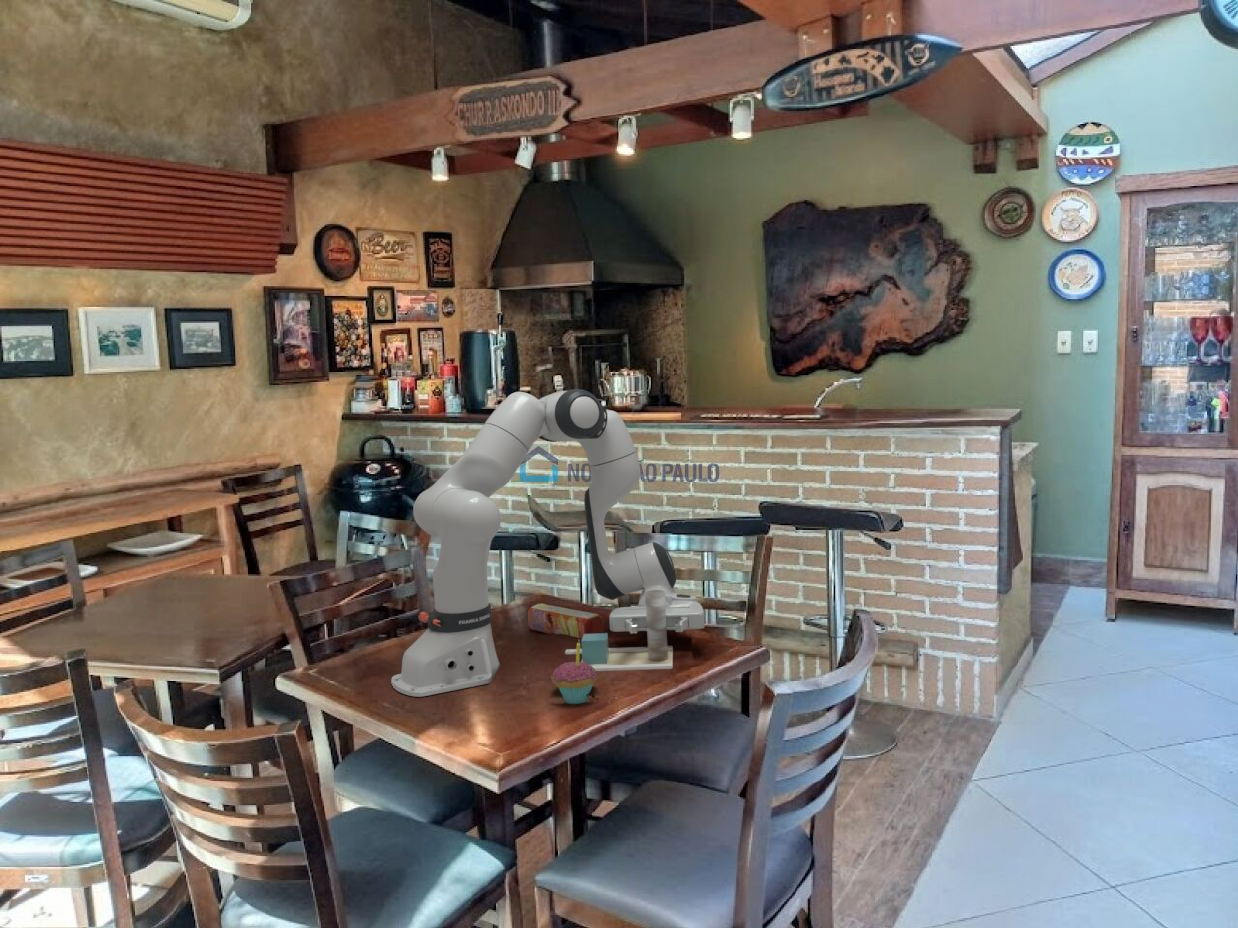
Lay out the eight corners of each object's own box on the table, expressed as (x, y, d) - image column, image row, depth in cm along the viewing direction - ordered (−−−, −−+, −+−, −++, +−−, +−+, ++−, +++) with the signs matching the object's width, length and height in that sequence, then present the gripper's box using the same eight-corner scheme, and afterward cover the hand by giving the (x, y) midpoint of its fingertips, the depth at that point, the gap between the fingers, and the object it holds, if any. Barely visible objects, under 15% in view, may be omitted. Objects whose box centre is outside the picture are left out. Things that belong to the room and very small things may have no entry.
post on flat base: (673, 656, 193) (669, 586, 191) (672, 670, 184) (669, 597, 182) (584, 659, 194) (579, 589, 193) (579, 673, 185) (575, 600, 184)
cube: (608, 656, 192) (607, 633, 191) (607, 663, 187) (605, 640, 186) (585, 656, 192) (583, 633, 191) (582, 664, 187) (581, 640, 186)
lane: (673, 655, 195) (672, 645, 195) (672, 675, 182) (672, 665, 182) (566, 658, 196) (566, 649, 196) (558, 678, 184) (558, 669, 183)
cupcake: (607, 697, 172) (604, 636, 170) (574, 711, 166) (570, 647, 164) (576, 688, 178) (573, 628, 176) (543, 701, 172) (539, 639, 170)
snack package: (525, 631, 219) (524, 604, 219) (547, 625, 224) (545, 598, 223) (585, 647, 204) (583, 618, 203) (606, 640, 209) (605, 611, 208)
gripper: (610, 598, 201) (605, 615, 187) (702, 595, 200) (704, 612, 186) (611, 626, 202) (606, 645, 188) (703, 623, 200) (705, 642, 187)
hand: (656, 629), depth 187 cm, fingers open, 8 cm apart
